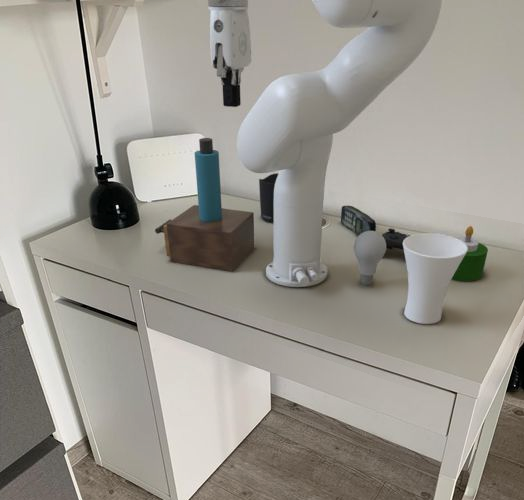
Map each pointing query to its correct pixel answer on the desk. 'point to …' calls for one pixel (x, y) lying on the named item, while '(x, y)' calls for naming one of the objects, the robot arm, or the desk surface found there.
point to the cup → (430, 273)
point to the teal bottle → (208, 181)
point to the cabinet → (211, 239)
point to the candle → (471, 259)
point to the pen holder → (267, 197)
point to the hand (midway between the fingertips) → (232, 105)
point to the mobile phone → (357, 220)
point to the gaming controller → (394, 239)
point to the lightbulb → (369, 254)
